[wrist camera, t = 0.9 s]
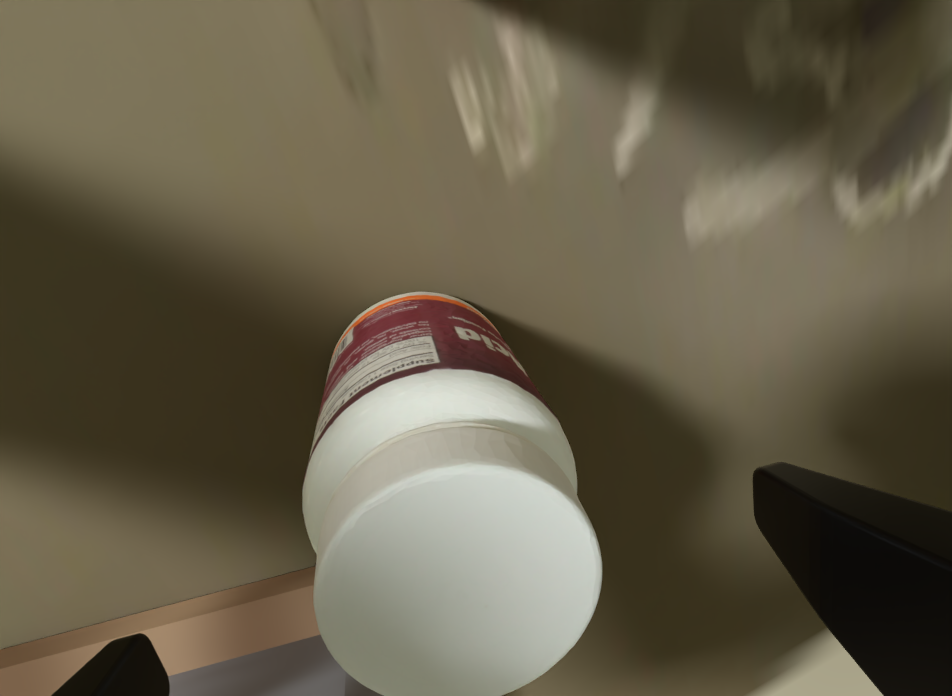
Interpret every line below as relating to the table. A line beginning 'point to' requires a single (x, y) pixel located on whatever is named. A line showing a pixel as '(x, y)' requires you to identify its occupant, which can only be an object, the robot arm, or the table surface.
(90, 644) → the bottle holder
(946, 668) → the robot arm
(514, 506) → the pill bottle
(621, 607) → the table surface
